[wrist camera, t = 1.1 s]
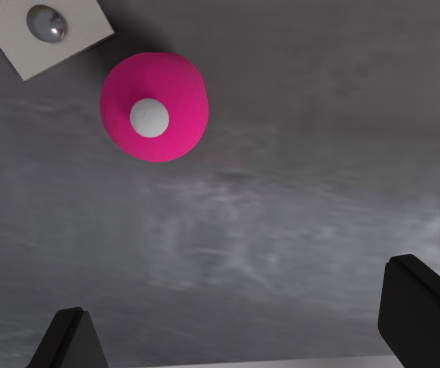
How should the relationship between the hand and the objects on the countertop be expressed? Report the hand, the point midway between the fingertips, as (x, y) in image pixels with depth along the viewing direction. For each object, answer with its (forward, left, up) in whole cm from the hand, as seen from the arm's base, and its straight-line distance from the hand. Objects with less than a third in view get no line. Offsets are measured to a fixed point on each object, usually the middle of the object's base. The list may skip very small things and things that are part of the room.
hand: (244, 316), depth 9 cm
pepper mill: (+1, -6, -27) cm, 27 cm away
